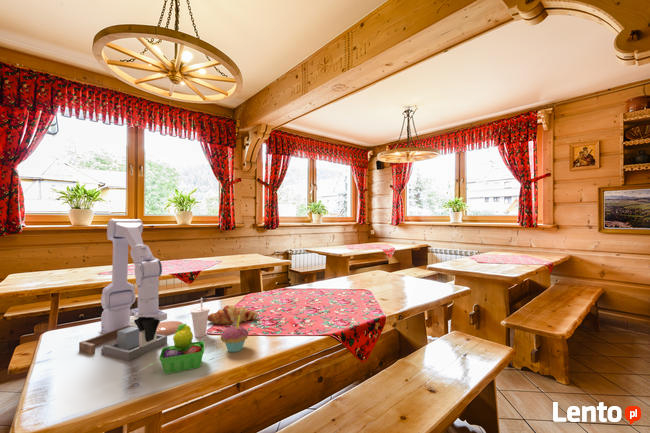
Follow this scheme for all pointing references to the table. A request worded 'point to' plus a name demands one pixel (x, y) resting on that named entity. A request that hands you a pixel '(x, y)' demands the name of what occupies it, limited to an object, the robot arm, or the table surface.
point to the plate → (168, 327)
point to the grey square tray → (136, 352)
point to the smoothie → (200, 320)
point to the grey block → (128, 338)
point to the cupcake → (234, 337)
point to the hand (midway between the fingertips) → (148, 340)
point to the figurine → (235, 323)
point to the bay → (98, 341)
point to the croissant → (231, 315)
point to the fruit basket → (182, 352)
